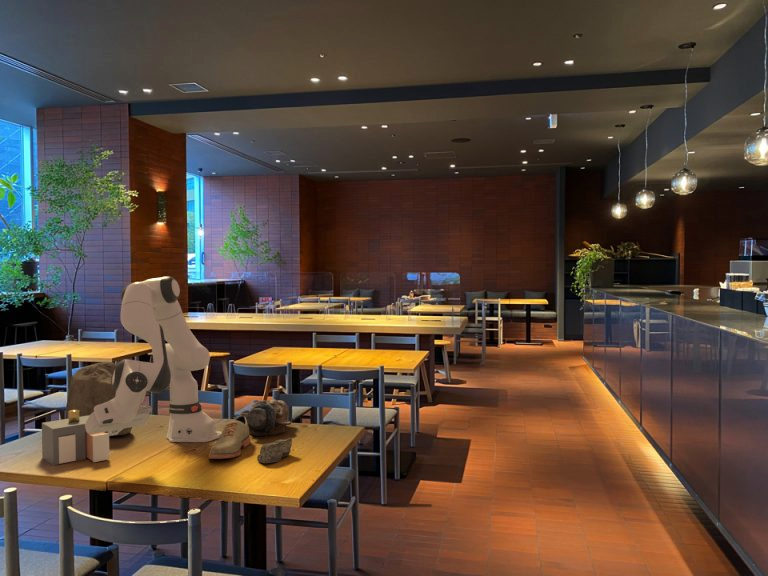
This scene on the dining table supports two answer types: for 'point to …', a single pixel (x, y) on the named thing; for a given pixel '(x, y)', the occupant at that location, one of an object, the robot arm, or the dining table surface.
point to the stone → (92, 390)
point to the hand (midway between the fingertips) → (112, 433)
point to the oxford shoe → (231, 439)
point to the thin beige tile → (66, 448)
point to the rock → (274, 451)
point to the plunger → (97, 446)
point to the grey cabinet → (60, 429)
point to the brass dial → (73, 416)
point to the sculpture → (267, 418)
